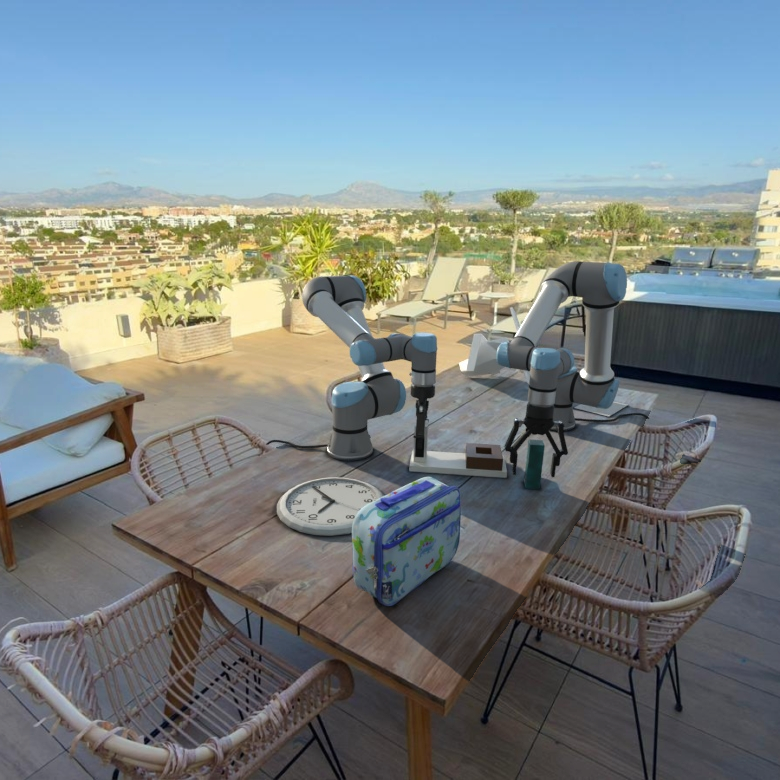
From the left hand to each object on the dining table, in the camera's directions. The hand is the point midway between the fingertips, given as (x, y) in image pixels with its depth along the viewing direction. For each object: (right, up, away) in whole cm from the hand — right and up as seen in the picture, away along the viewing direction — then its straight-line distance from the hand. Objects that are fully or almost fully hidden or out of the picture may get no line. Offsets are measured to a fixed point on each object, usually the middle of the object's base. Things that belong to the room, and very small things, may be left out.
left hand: (420, 449), depth 167 cm
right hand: (+33, -6, -13) cm, 35 cm away
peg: (+32, -10, -12) cm, 36 cm away
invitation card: (+82, +12, +59) cm, 101 cm away
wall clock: (-26, -13, -25) cm, 38 cm away
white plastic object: (+43, +22, +90) cm, 102 cm away
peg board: (+12, -6, 0) cm, 13 cm away
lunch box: (-6, -22, -54) cm, 58 cm away
